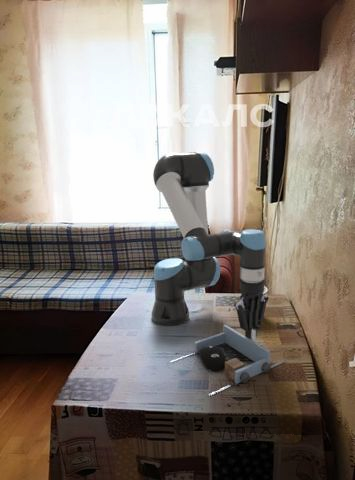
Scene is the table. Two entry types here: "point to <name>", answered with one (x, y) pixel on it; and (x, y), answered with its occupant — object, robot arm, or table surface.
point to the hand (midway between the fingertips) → (250, 347)
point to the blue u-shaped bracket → (243, 346)
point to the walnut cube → (232, 367)
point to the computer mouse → (213, 358)
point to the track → (225, 386)
